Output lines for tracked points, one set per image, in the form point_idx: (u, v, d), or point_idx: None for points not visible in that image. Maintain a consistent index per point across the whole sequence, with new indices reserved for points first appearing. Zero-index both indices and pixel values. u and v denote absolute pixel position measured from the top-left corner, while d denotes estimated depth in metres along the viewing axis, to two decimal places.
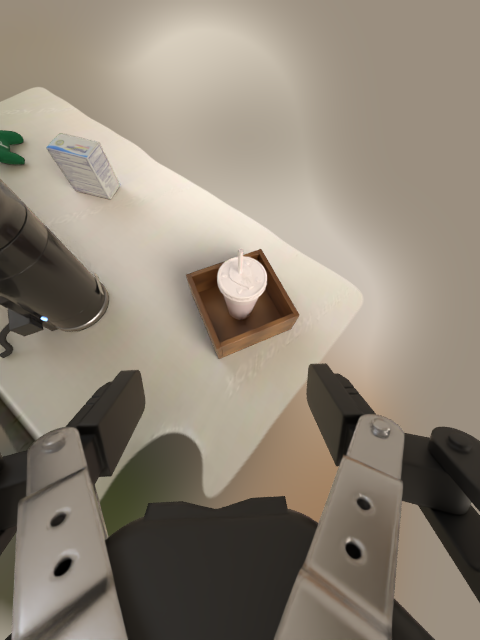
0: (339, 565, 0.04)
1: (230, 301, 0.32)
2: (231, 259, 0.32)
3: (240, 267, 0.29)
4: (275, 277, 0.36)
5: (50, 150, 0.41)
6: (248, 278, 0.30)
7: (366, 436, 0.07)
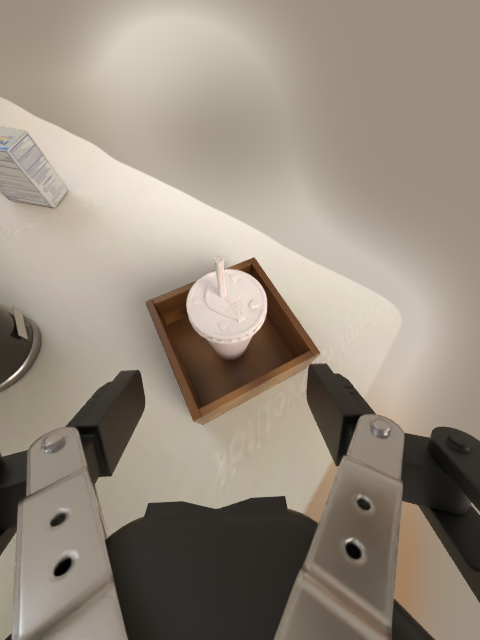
0: (339, 565, 0.04)
1: (211, 341, 0.20)
2: (208, 275, 0.20)
3: (222, 287, 0.18)
4: (278, 296, 0.25)
5: None
6: (237, 304, 0.19)
7: (366, 436, 0.07)
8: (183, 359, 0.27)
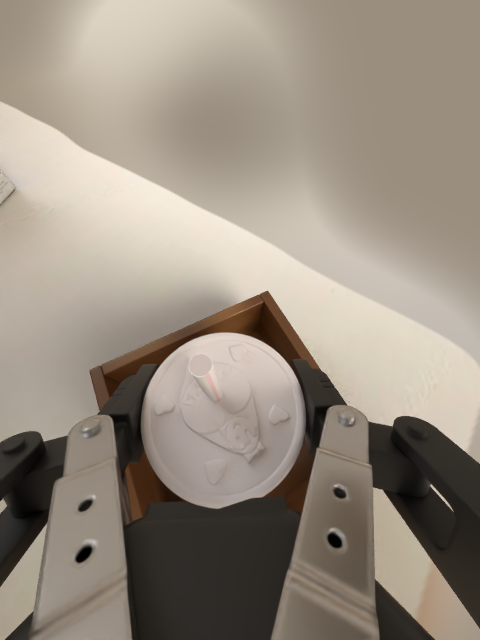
0: (323, 557, 0.04)
1: None
2: (189, 346, 0.10)
3: (213, 395, 0.08)
4: (309, 360, 0.15)
5: None
6: (244, 417, 0.09)
7: (335, 426, 0.07)
8: None
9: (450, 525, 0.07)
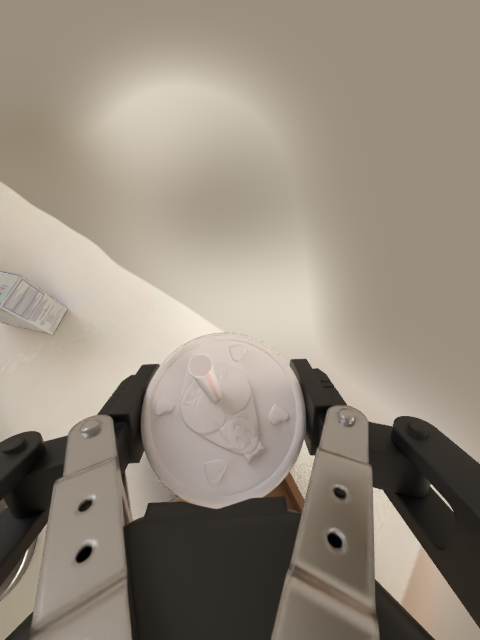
0: (323, 557, 0.04)
1: None
2: (189, 347, 0.10)
3: (212, 396, 0.08)
4: (303, 506, 0.22)
5: None
6: (244, 417, 0.09)
7: (335, 426, 0.07)
8: None
9: (450, 525, 0.07)
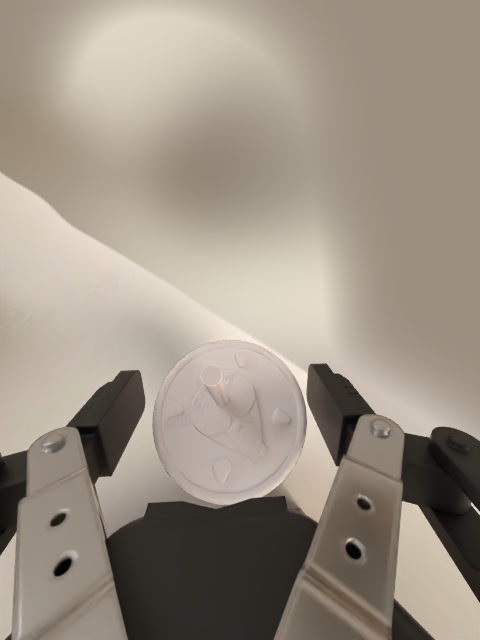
0: (339, 565, 0.04)
1: None
2: (196, 353, 0.11)
3: (220, 401, 0.09)
4: None
5: None
6: (249, 420, 0.10)
7: (366, 436, 0.07)
8: None
9: None
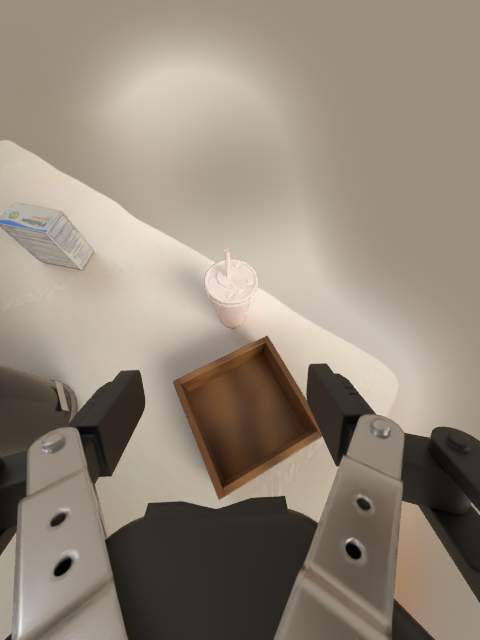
0: (339, 565, 0.04)
1: (220, 307, 0.30)
2: (218, 263, 0.30)
3: (228, 270, 0.27)
4: (289, 376, 0.28)
5: (2, 225, 0.34)
6: (237, 281, 0.28)
7: (366, 436, 0.07)
8: (204, 425, 0.30)
9: None
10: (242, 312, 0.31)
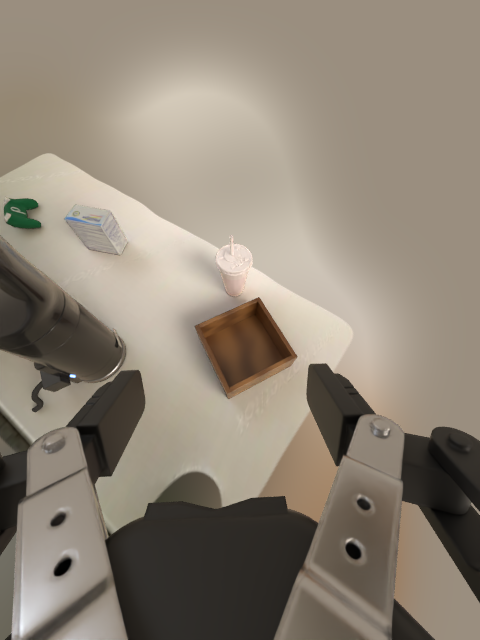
0: (339, 565, 0.04)
1: (226, 277, 0.43)
2: (225, 246, 0.43)
3: (232, 250, 0.40)
4: (273, 322, 0.41)
5: (68, 220, 0.47)
6: (238, 258, 0.41)
7: (366, 436, 0.07)
8: None
9: None
10: (241, 281, 0.45)
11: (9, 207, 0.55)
